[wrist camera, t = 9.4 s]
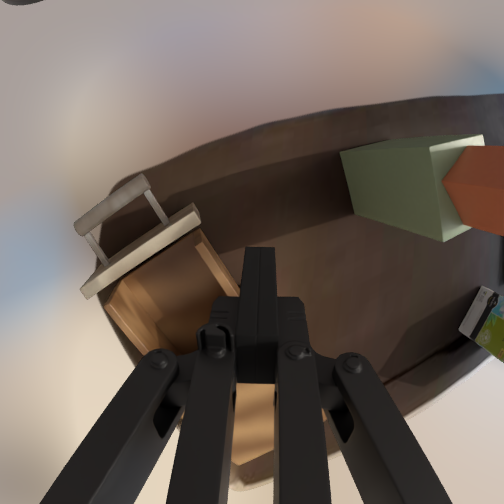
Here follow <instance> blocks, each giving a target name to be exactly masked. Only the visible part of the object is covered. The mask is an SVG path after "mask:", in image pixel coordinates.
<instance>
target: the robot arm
mask: <svg viewBox="0 0 504 504" xmlns="http://www.w3.org/2000/svg"><path fill="white" fill-rule="evenodd" d="M196 339H197V346H198V350H196V351H194V352H192V353H189V354H185V355H179V356H176V355H175V354H174V353H173V352H172V351H170V350H168V349H163V348H159V349H154V350H152V351H149V352H148V353H147V354H146V355H144V357H143V358H142V359H141V361H140V362H139V363H138V365H137V366H136V367H135V369H134V370H133V372H132V373H131V374H130V376H129V377H128V378H127V380H126V381H125V382H124V384H123V385H122V387H121V388H120V389H119V391H118V392H117V393H116V395H115V397H114V398H113V399H112V401H111V402H110V403H109V405H108V406H107V407H106V409H105V410H104V411H103V413H102V414H101V416H100V417H99V418H98V420H97V421H96V423H95V424H94V426H93V427H92V428H91V430H90V431H89V433H88V434H87V436H86V437H85V438H84V440H83V441H82V442H81V444H80V446H79V447H78V448H77V450H76V451H75V453H74V454H73V455H72V457H71V458H70V460H69V461H68V463H67V464H66V465H65V467H64V468H63V470H62V471H61V473H60V474H59V476H58V477H57V478H56V480H55V481H54V483H53V484H52V486H51V487H50V489H49V490H48V492H47V493H46V495H45V496H44V498H43V499H42V501H41V502H40V504H134V502H135V500H136V499H137V497H138V495H139V493H140V491H141V490H142V488H143V486H144V484H145V482H146V481H147V479H148V477H149V475H150V473H151V472H152V470H153V468H154V466H155V464H156V462H157V461H158V459H159V457H160V455H161V453H162V451H163V450H164V448H165V446H166V444H167V442H168V440H169V439H170V437H171V435H172V433H173V431H174V429H175V428H176V426H177V424H178V422H179V420H180V418H181V416H182V415H183V413H184V415H183V420H182V425H181V429H180V434H179V439H178V444H177V449H176V454H175V459H174V464H173V469H172V474H171V479H170V484H169V489H168V495H167V500H166V504H227V500H228V488H229V477H230V465H231V454H232V443H233V431H234V420H235V409H236V398H237V389H236V385H237V383H245V384H275V389H274V400H273V406H274V500H273V504H332V503H331V492H330V480H329V469H328V459H327V450H326V441H325V432H324V423H323V415H322V409H323V411H324V413H325V415H326V418H327V420H328V422H329V425H330V427H331V429H332V431H333V434H334V436H335V438H336V441H337V443H338V445H339V447H340V450H341V452H342V454H343V456H344V459H345V461H346V464H347V466H348V468H349V470H350V473H351V475H352V477H353V480H354V482H355V484H356V487H357V489H358V491H359V493H360V496H361V498H362V500H363V502H364V504H452V502H451V500H450V498H449V497H448V495H447V493H446V491H445V489H444V487H443V485H442V484H441V482H440V480H439V478H438V476H437V475H436V473H435V471H434V469H433V468H432V466H431V464H430V462H429V461H428V459H427V457H426V455H425V454H424V452H423V450H422V448H421V447H420V445H419V443H418V442H417V440H416V438H415V436H414V435H413V433H412V431H411V430H410V428H409V426H408V425H407V423H406V421H405V420H404V418H403V416H402V415H401V413H400V411H399V410H398V408H397V406H396V405H395V403H394V401H393V400H392V398H391V396H390V395H389V393H388V391H387V390H386V388H385V387H384V385H383V383H382V382H381V380H380V379H379V377H378V375H377V374H376V372H375V370H374V369H373V367H372V366H371V364H370V363H369V361H368V360H367V359H366V358H365V357H364V356H362V355H360V354H358V353H353V352H350V353H344V354H341V355H339V357H338V358H337V359H332V358H328V357H324V356H321V355H320V354H318V353H316V352H315V351H314V350H313V349H312V347H311V345H310V342H309V335H308V328H307V321H306V315H305V308H304V304H303V302H302V301H301V300H300V299H299V297H277V283H276V263H275V247H245V255H244V263H243V271H242V279H241V287H240V295H239V297H237V296H219V297H218V298H217V299H216V300H215V301H214V302H213V304H212V309H211V313H210V318H209V322H208V323H207V324H204V325H202V326H201V327H200V328H198V330H197V332H196Z"/></svg>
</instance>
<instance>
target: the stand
mask: <svg viewBox="0 0 504 504" xmlns="http://www.w3.org/2000/svg"><path fill="white" fill-rule="evenodd" d="M468 145H472V146H485V145H484V139H483V135H482V134H471V135H446V136H429V137H415V138H403V139H392V140H386V141H382V142H378V143H374V144H369V145H365V146H361V147H357V148H353V149H349V150H346V151H342V152H339V153H340V157H341V160H342V164H343V168H344V172H345V176H346V180H347V184H348V188H349V192H350V197H351V201H352V205H353V210H354V214H355V215H358V216H362V217H365V218H369V219H372V220H375V221H379V222H382V223H385V224H388V225H392V226H395V227H398V228H401V229H404V230H407V231H411V232H414V233H417V234H420V235H423V236H426V237H429V238H432V239H435V240H438V241H441V242H445V241H447V240H449V239H451V238H453V237H454V236H456V235H458V234H460V233H462V232H464V231H466V230H468V229H470V228H472V227H469V226H466V225H463V223H462V221H461V218H460V216H459V214H458V212H457V210H456V208H455V206H454V204H453V202H452V200H451V198H450V196H449V194H448V193H447V191H446V189H445V187H444V185H443V183H442V180H443V178H444V177H445V176H446V174H447V173H448V172H449V170H450V169H451V168H452V166H453V165H454V164H455V162H456V161H457V159H458V158H459V157H460V155H461V154H462V153H463V151H464V150H465V148H466V147H467V146H468Z"/></svg>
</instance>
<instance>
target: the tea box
mask: <svg viewBox="0 0 504 504" xmlns="http://www.w3.org/2000/svg"><path fill="white" fill-rule="evenodd" d="M458 330H459V331H460V332H461V333H463V334H464V335H465V336H467V337H468V338H470V339H471V340H472V341H474V342H475V343H477V344H478V345H479V346H481V347H482V348H484V349H485V350H486V351H488V352H489V353H490V354H492V355H493V356H495V357H496V358H497V359H499V360H500V361H502V362H503V363H504V297H503V296H501V295H499V294H497V293H496V292H494V291H492V290H490V289H488V288H486V287H484V286H481V288H480V290H479V292H478V294H477V295H476V297H475V299H474V301H473V303H472V305H471V307H470V309H469V310H468V312H467V314H466V316H465V318H464V319H463V321H462V323H461V325H460V327H459V329H458Z"/></svg>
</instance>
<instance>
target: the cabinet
mask: <svg viewBox="0 0 504 504" xmlns="http://www.w3.org/2000/svg"><path fill="white" fill-rule="evenodd" d="M239 289H240V288H239ZM236 389H237V398H236V409H235V420H234V431H233V443H232V454H231V460H232V461H233V462H234V463H235V464H237V465H241V464H243V463H245V462H248V461H250V460H252V459H254V458H256V457H258V456H260V455H262V454H264V453H267V452H269V451H271V450H273V449H274V406H273V400H274V389H275V384H245V383H237V385H236ZM183 415H184V413H183ZM183 415H182V416H181V418H182V419H183ZM322 415H323V422H324V421H325V420H327V418H326V415H325V413H324V411H323V409H322Z"/></svg>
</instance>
